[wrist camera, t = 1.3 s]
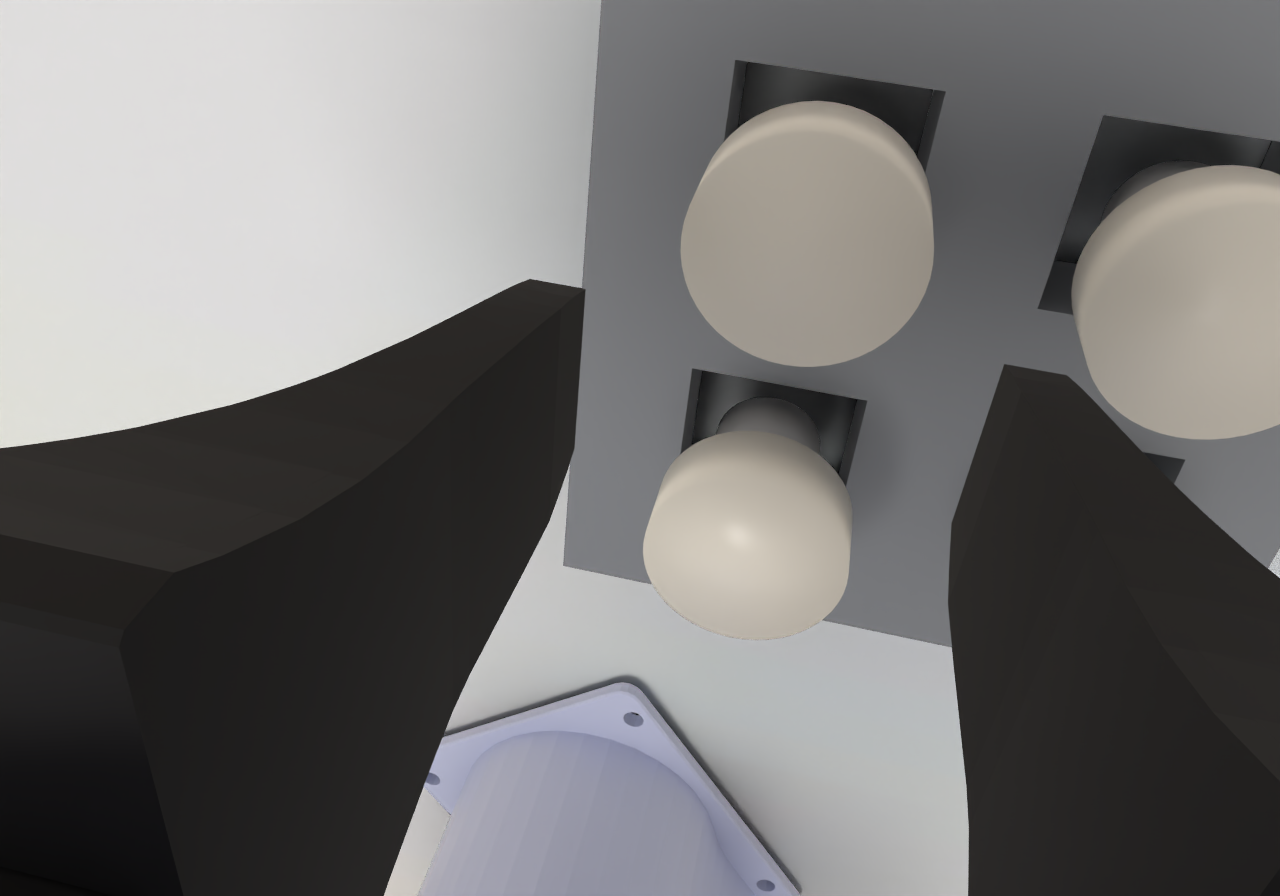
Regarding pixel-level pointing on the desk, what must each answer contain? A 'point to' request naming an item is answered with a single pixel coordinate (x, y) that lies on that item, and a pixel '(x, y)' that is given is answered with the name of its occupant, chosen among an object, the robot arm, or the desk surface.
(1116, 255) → the button
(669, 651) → the desk surface
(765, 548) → the button
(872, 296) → the button
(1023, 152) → the board
